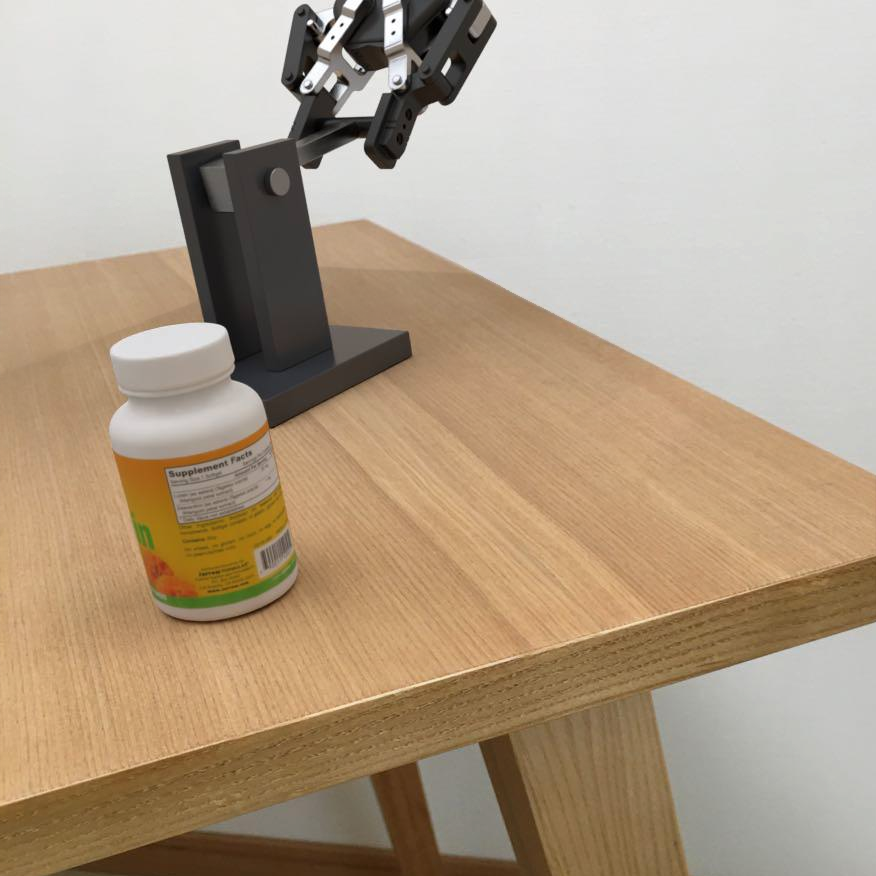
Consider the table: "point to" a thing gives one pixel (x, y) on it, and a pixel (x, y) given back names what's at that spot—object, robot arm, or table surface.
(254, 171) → the bracket
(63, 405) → the table surface
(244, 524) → the supplement bottle
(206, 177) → the press lever
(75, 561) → the table surface
